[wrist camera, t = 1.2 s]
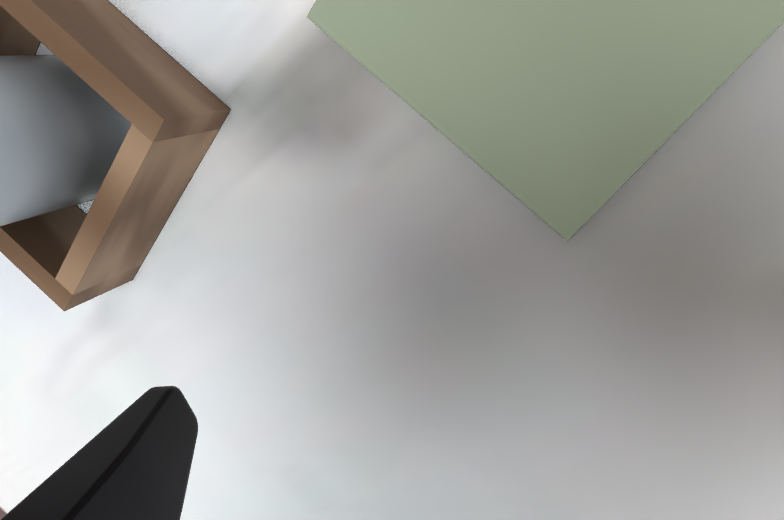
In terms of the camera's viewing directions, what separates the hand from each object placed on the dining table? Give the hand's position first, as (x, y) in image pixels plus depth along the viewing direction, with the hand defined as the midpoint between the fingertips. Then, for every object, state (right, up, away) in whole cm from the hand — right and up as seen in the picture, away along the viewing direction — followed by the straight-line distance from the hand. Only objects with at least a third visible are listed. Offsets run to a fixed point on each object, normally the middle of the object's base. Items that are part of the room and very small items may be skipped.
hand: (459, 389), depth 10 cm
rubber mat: (+4, +11, +11) cm, 16 cm away
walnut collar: (-14, +8, +19) cm, 25 cm away
